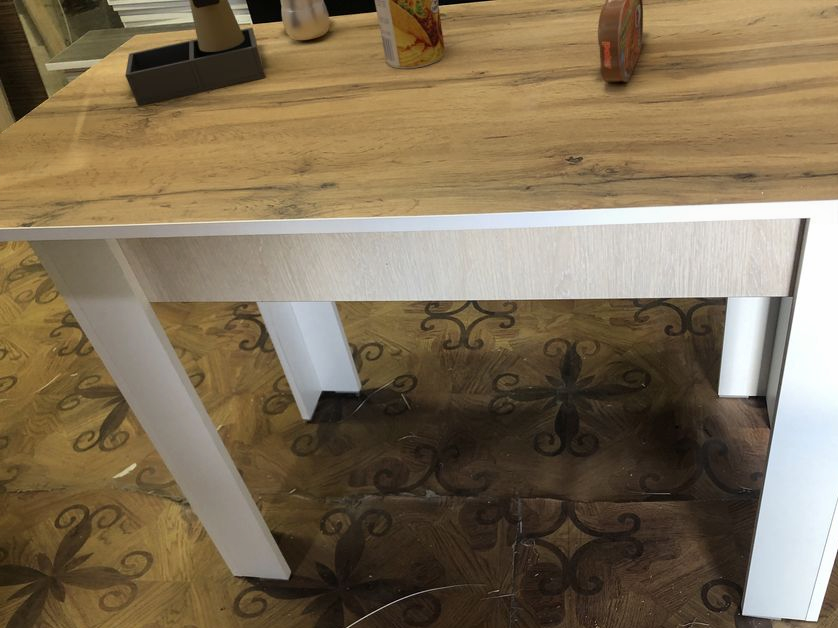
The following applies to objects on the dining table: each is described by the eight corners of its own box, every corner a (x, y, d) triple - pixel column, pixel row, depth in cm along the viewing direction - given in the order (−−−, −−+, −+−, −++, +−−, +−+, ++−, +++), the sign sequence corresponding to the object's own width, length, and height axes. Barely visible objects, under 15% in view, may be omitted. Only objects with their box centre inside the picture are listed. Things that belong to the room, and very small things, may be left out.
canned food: (456, 54, 101) (443, -45, 93) (405, 73, 98) (387, -28, 90) (424, 41, 106) (410, -55, 98) (375, 59, 103) (356, -38, 95)
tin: (623, 94, 85) (623, 15, 80) (594, 94, 86) (593, 16, 81) (644, 43, 96) (646, -29, 90) (619, 43, 97) (619, -29, 91)
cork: (196, 42, 104) (165, -46, 97) (240, 31, 106) (213, -57, 99) (202, 55, 100) (171, -36, 93) (248, 43, 101) (220, -48, 94)
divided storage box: (137, 106, 101) (125, 75, 98) (140, 83, 107) (128, 53, 104) (265, 77, 103) (256, 46, 100) (260, 56, 109) (252, 27, 107)
